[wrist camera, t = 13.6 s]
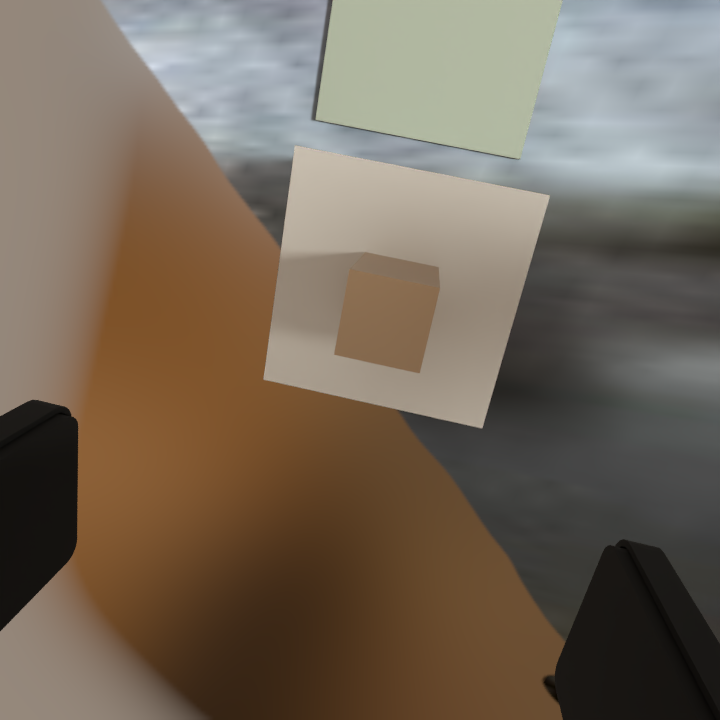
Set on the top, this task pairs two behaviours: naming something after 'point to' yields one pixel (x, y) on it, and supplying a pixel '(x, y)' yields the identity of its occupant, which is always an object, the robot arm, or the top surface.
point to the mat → (438, 69)
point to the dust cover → (398, 284)
